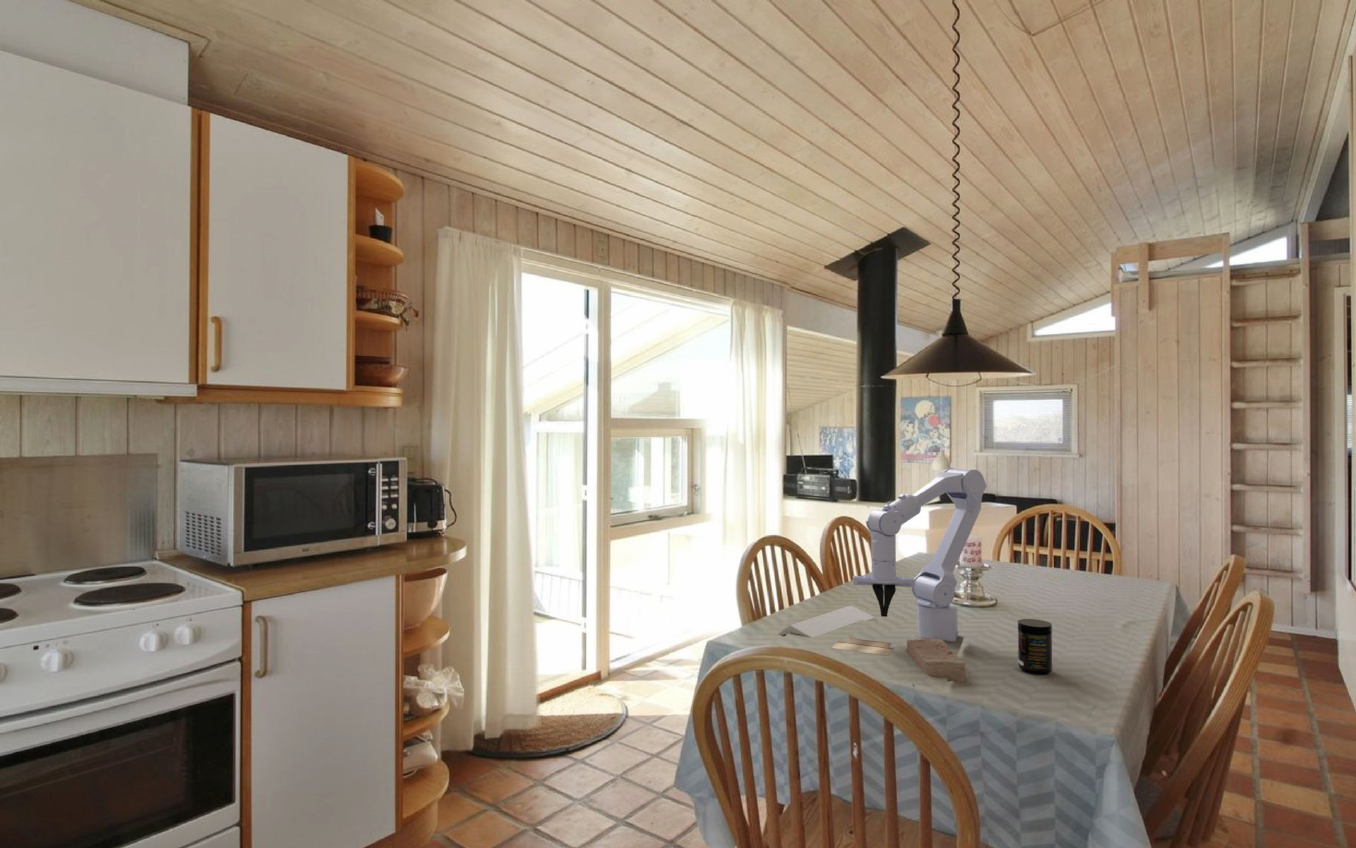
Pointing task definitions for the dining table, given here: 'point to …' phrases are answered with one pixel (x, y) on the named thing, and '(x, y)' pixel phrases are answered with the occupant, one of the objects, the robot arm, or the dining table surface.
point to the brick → (936, 658)
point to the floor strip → (862, 648)
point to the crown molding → (828, 622)
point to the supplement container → (1035, 646)
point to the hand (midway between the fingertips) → (883, 615)
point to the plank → (869, 642)
